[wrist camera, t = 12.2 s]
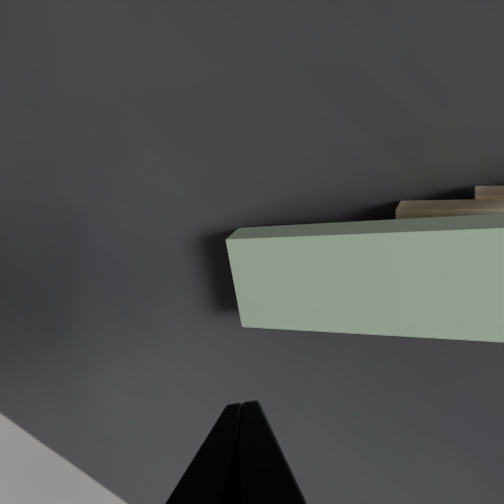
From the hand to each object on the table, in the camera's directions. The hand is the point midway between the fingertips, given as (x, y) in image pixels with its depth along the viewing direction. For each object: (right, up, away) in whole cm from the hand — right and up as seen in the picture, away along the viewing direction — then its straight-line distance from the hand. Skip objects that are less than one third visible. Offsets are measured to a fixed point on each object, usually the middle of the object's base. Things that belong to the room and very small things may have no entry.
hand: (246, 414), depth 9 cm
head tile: (0, +3, +9) cm, 9 cm away
